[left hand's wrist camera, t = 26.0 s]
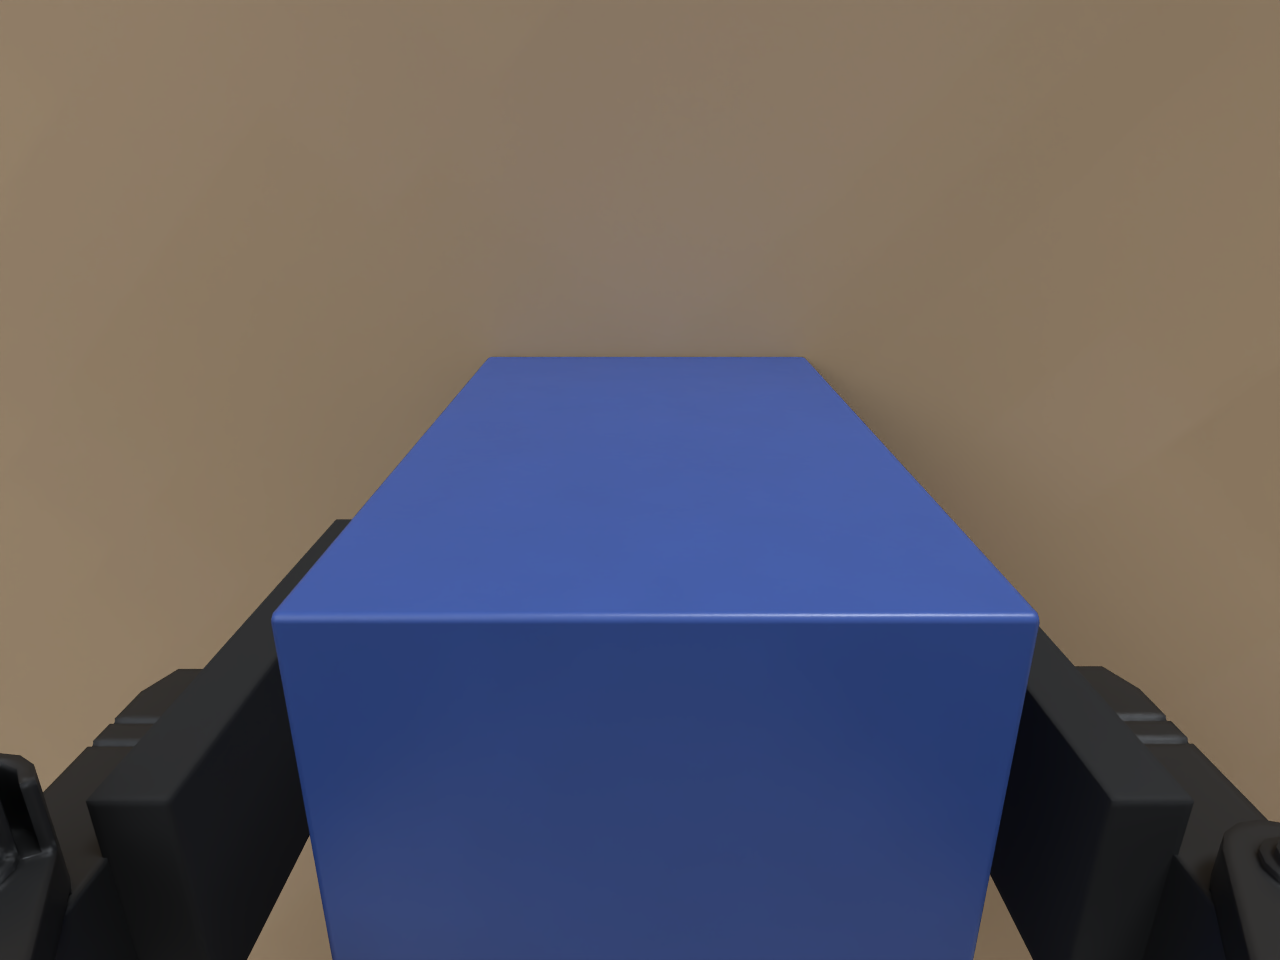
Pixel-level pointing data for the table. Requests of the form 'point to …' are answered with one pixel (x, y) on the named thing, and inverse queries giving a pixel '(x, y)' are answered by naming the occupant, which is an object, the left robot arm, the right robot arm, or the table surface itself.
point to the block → (653, 680)
